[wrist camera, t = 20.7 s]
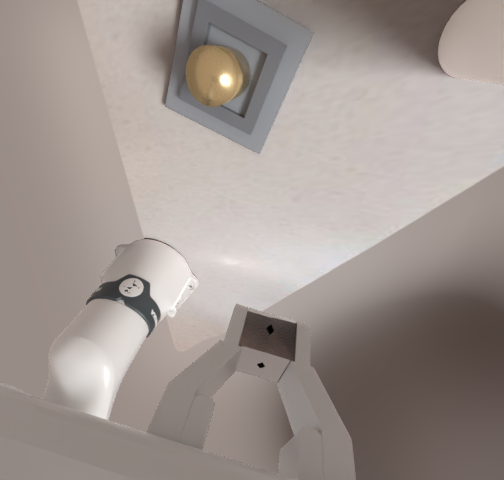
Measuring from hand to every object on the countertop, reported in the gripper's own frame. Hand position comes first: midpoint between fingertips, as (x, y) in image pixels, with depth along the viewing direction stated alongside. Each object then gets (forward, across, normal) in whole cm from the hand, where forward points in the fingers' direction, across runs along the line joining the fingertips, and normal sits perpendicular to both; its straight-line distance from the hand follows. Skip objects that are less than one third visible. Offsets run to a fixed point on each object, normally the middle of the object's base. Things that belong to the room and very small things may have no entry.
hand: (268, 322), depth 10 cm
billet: (+28, +10, -5) cm, 30 cm away
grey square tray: (+29, +10, -5) cm, 31 cm away
